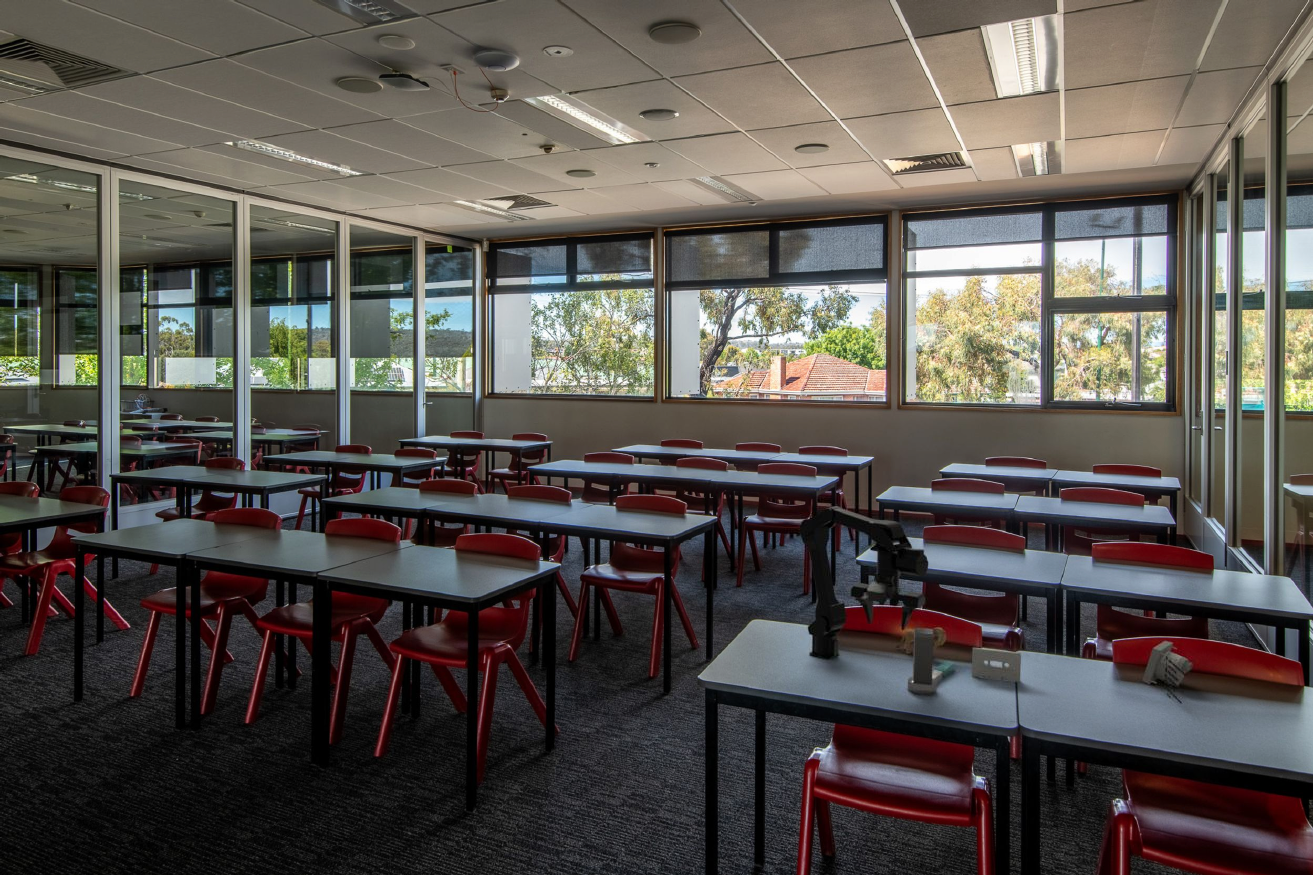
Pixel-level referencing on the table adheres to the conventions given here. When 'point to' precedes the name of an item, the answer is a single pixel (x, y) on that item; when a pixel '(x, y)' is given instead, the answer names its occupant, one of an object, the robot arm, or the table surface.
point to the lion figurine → (937, 638)
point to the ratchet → (936, 677)
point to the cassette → (996, 671)
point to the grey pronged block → (1166, 667)
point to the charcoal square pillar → (923, 656)
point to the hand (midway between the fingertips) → (886, 626)
